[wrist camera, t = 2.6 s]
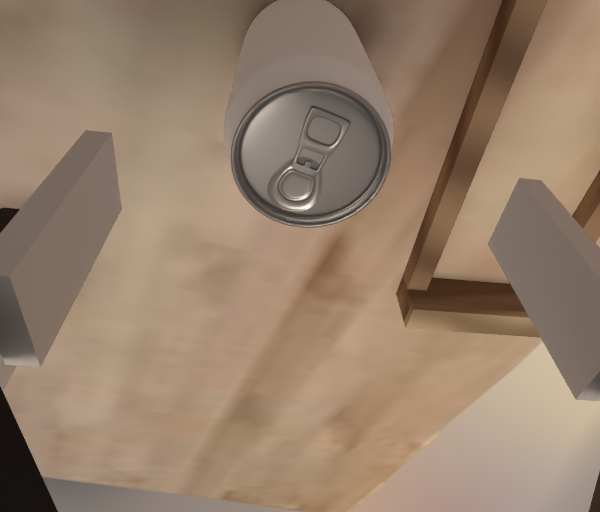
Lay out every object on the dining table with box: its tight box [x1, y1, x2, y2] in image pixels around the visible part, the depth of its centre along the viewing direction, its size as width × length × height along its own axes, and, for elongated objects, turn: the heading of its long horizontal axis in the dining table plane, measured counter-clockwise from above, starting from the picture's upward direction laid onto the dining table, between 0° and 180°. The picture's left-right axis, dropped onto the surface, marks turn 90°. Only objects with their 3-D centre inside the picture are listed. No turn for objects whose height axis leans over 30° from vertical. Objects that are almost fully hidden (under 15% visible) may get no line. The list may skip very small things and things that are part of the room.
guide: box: [397, 0, 600, 337], centre depth 29 cm, size 24×12×4 cm, turn 173°
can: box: [224, 0, 394, 228], centre depth 21 cm, size 6×6×12 cm
